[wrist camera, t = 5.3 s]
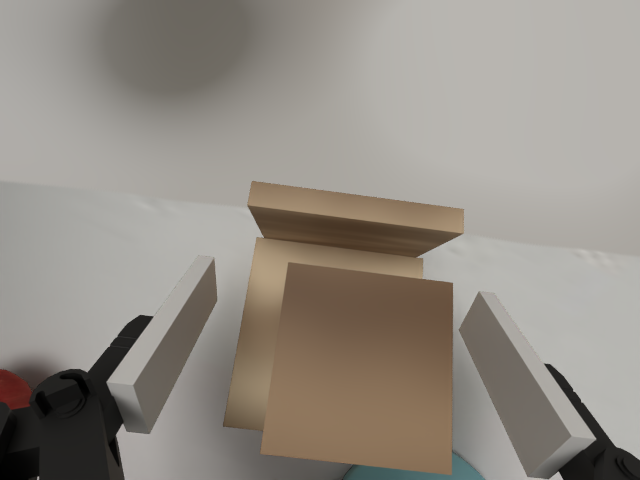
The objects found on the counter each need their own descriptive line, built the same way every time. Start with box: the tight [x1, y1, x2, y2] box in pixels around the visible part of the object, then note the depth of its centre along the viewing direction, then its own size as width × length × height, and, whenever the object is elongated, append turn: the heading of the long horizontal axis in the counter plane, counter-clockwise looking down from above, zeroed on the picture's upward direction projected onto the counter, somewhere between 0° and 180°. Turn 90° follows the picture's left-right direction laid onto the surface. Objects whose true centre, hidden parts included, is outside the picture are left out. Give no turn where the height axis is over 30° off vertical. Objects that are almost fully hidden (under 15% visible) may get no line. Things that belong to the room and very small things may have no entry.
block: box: [260, 262, 453, 475], centre depth 13 cm, size 5×5×10 cm
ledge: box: [223, 181, 464, 431], centre depth 17 cm, size 12×11×10 cm
